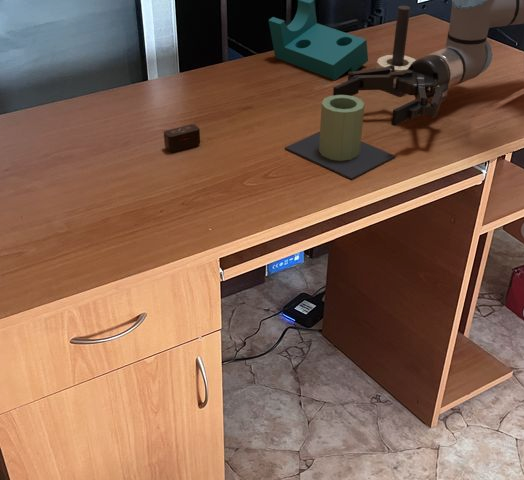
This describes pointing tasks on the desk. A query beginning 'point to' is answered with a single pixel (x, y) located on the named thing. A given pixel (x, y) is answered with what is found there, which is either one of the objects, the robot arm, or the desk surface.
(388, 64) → the cream ring
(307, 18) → the teal l-shaped bracket
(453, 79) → the robot arm
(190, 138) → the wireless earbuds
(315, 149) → the mat
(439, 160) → the desk surface
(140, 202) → the desk surface
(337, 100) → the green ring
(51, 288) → the desk surface
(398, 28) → the stack stand
